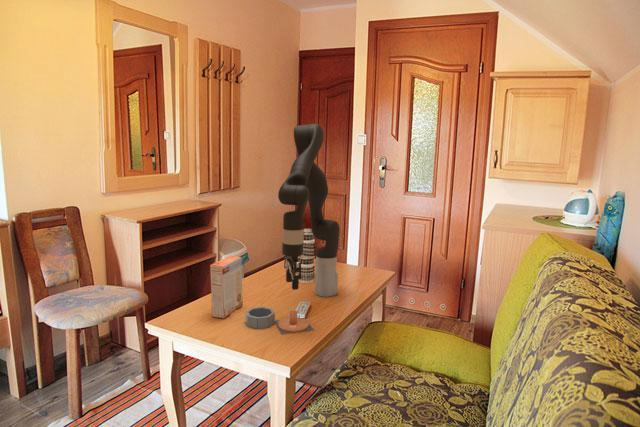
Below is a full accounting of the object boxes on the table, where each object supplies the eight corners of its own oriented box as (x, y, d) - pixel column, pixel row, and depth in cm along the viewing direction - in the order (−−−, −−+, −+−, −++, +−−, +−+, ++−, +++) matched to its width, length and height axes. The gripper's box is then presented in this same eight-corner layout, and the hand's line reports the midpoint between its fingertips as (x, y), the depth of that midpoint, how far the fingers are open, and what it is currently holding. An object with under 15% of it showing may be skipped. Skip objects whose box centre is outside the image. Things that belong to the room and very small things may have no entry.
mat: (304, 318, 165) (304, 316, 165) (314, 331, 154) (314, 330, 154) (273, 322, 162) (273, 320, 161) (281, 336, 150) (281, 334, 150)
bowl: (270, 316, 166) (270, 305, 165) (276, 327, 157) (276, 316, 156) (244, 320, 163) (244, 308, 162) (249, 331, 154) (249, 319, 153)
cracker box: (230, 304, 178) (229, 255, 174) (243, 306, 176) (242, 256, 172) (210, 317, 165) (209, 264, 161) (224, 319, 163) (223, 266, 159)
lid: (303, 317, 165) (303, 304, 164) (312, 329, 155) (313, 316, 154) (274, 320, 161) (274, 307, 160) (282, 333, 151) (282, 319, 150)
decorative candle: (292, 281, 208) (293, 230, 203) (301, 275, 216) (301, 226, 212) (310, 284, 204) (311, 232, 200) (318, 278, 212) (319, 228, 208)
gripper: (309, 245, 147) (307, 291, 150) (297, 236, 160) (296, 278, 163) (287, 246, 145) (286, 292, 147) (277, 237, 158) (277, 280, 161)
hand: (292, 285), depth 155 cm, fingers open, 8 cm apart
